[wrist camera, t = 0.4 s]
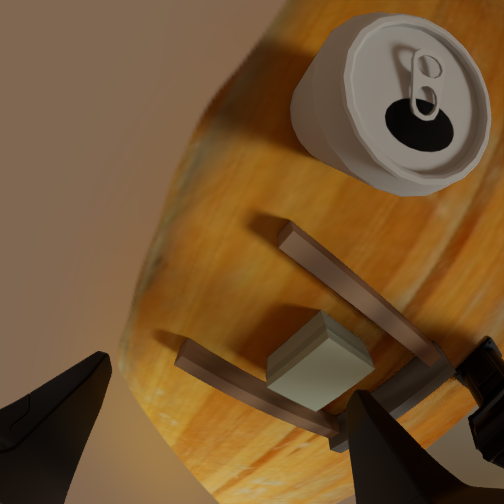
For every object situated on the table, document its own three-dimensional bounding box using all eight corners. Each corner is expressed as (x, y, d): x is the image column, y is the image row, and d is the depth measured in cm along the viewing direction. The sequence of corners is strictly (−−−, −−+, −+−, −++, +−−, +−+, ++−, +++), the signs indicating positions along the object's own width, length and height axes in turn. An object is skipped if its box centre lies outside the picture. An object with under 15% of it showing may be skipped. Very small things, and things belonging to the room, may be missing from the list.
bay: (441, 347, 25) (456, 371, 22) (336, 427, 30) (341, 453, 27) (292, 217, 21) (298, 235, 17) (179, 348, 26) (168, 377, 22)
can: (286, 162, 19) (313, 196, 8) (290, 59, 17) (319, -26, 6) (386, 172, 19) (494, 219, 8) (391, 76, 16) (499, 39, 5)
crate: (364, 340, 25) (375, 369, 22) (311, 382, 27) (315, 412, 24) (320, 307, 24) (328, 336, 20) (266, 356, 26) (265, 387, 23)
